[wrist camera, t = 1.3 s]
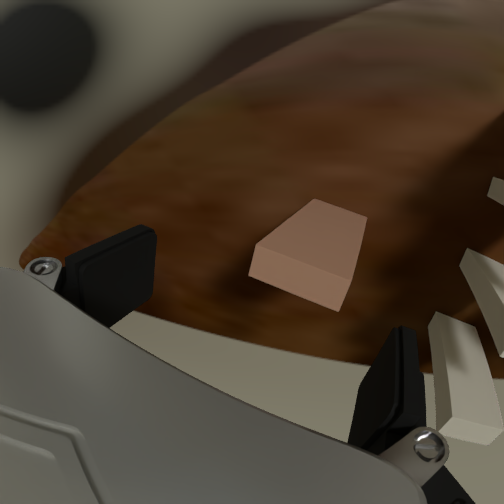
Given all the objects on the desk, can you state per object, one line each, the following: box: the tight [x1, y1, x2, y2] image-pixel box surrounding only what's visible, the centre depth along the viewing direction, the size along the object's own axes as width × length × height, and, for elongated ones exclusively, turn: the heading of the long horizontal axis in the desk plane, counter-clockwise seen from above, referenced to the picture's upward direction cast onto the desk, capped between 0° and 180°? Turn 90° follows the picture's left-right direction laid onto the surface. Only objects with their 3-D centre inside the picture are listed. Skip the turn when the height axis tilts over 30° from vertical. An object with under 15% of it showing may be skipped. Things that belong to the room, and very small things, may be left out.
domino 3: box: [428, 311, 504, 446], centre depth 17 cm, size 4×2×12 cm, turn 76°
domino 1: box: [248, 199, 367, 312], centre depth 19 cm, size 4×2×12 cm, turn 76°
